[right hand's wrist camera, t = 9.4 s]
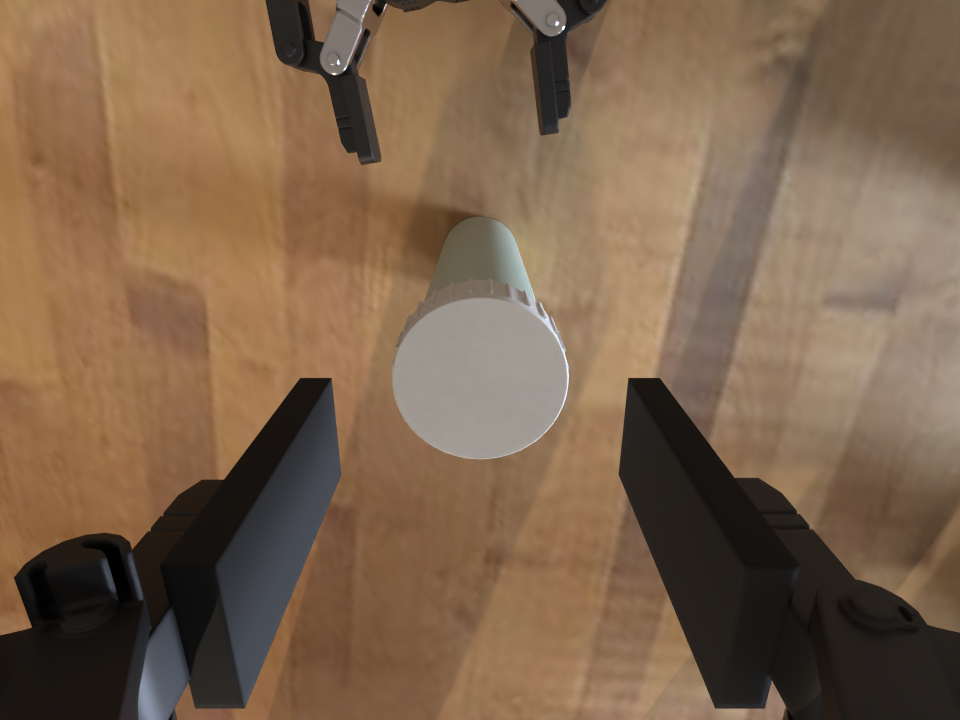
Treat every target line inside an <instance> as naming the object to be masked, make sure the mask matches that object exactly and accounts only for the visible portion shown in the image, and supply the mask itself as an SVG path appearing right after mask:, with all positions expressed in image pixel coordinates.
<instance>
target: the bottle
mask: <svg viewBox="0 0 960 720" xmlns="http://www.w3.org/2000/svg"><path fill="white" fill-rule="evenodd" d="M469 278H473V280H488V278H491V279H492V281H497V282H501V283H505V284H507V282H508V283H510V284H511V286H513V287H515V288H517V289H519V290H521V291H523V292H524V290H525V291H527V292H528V295H529V296H530V297H532V298H533V299H534V300H535V297H534V294H533V291H532V289H531V286H530V283H529V280H528V277H527V274H526V271H525V268H524V265H523V262H522V259H521V257H520V254H519V251H518V248H517V245H516V242H515V240H514V237H513V235H512V234H511V232H510V231H509V230H508V228H507V227H506V226H504V225H503V224H502V223H501V222H499V221H497V220H495V219H492V218H489V217H482V216H479V217H471V218H468V219H465V220H463V221H461V222H460V223H458V224H457V225H456V226H455V227H454V228H453V229H452V230H451V231H450V232H449V234H448V236H447V238H446V240H445V243H444V246H443V248H442V251H441V254H440V257H439V260H438V263H437V266H436V269H435V272H434V275H433V278H432V281H431V284H430V286H429V289H428V292H427V295H426V298H425V300H426V299H428V298H429V297H430V296H431V295H433V292H434V291H435V290H437V292H438V291H439V290H441V289H443V288H445V287H447V286H450V283H452V282H454V284H456V283H459V282H463V281H469ZM535 301H536V300H535Z"/></svg>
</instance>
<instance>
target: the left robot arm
mask: <svg viewBox="0 0 960 720" xmlns="http://www.w3.org/2000/svg"><path fill="white" fill-rule="evenodd" d="M436 1H444V2H452V3H458V2H463V1H468V0H375V3H374V4H373V2H374V0H337V4H336V14H335V17H334V20H333V22H332V25H331V27H330V30H329V32H328V35H327V38H326V40H325V43H323V42H318V41H315V36H314V30H313V24H312V19H311V13H310V7H309V2H308V0H266V5H267V10H268V15H269V20H270V25H271V30H272V35H273V40H274V46H275V51H276V54H277V57H278V58H279V60H280V61H281V62H283V63H284V64H286V65H289V66H291V67H294V68H296V69H299V70H302V71H305V72H312V73H317V74H320V75H322V76H323V77H324V79H325V80H326V82H327V84H328V87H329V91H330V95H331V100H332V104H333V108H334V113H335V117H336V121H337V126H338V129H339V135H340V139H341V143H342V144H343V146H344V148H345V149H346V151H347V152H348V153H355V152H357V154H358V158H359V161H360V163H361V165H364V164H370V163H376V162H381V154H380V149H379V144H378V139H377V134H376V129H375V124H374V120H373V115H372V110H371V105H370V100H369V95H368V91H367V86H366V81H365V79H364V78H362V77H360V76H359V73H358V71H359V69H360V66H361V64H362V61H363V59H364V56H365V54H366V52H367V49H368V47H369V44H370V42H371V40H372V38H373V36H375V34H376V33H377V31H378V29H379V27H380V24H381V22H382V19H383V17H384V15H385V12H386V10H387V7H388V5H391V6H393V7H395V8H399V9H403V11H404V12H408V11H414V10H419V9H422V8H424V7H426V6H428V5H430V4H432V3H434V2H436ZM498 1H499V2H500V3H501V4H502V5H503V7H504V8H505V9H507V10H508V11H509V12H511V13H512V14H513V15H514V16H515V17H516V18H517V20H518V21H519V22H520V23H521V24H522V25H523V26H524V27H525V29H526V30H527V31H528V32H529V33H530V34H531V35H532V36H533V38H534V45H533V47H532V49H531V51H530V53H531V62H532V70H533V79H534V88H535V97H536V106H537V115H538V124H539V131H540V135H548V134H554V133H558V132H559V123H558V119H560V118H565V117H568V115H569V111H570V107H571V96H570V86H569V75H568V64H567V53H566V39H567V36H568V34H569V32H570V31H572V30H574V29H575V28H577V27H578V26H580V25H582V24H583V23H587V22H589V21H590V20H592V19H593V17H594V16H595V15H596V13H597V12H599V11H600V10H601V9H602V8H603V6H604V5H605V3H606V1H607V0H558V1H556V0H498Z"/></svg>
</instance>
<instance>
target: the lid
mask: <svg viewBox="0 0 960 720" xmlns="http://www.w3.org/2000/svg"><path fill="white" fill-rule="evenodd" d="M395 350H396V351H397V352H396V355H395V358H394V361H393V363H392V386H393V392H394V397H395V401H396V403H397V406H398V408H399V411H400V412H401V414H402V416H403V418H404V420H405V421H406V422H407V424H408V425H409V426H410V428H411V429H412V430H413V431H414V432H415V433H416V434H417V435H418V436H419V437H420V438H422V439H423V440H424V441H425V442H427V443H428V444H430V445H432V446H433V447H435V448H437V449H439V450H441V451H443V452H445V453H448V454H451V455H454V456H458V457H463V458H470V459H490V458H498V457H502V456H506V455H509V454H512V453H515V452H517V451H520V450H522V449H523V448H525V447H527V446H529V445H530V444H532V443H533V442H535V441H536V440H538V439H539V438H540V437H541V436H542V435H543V434H544V433H545V432H546V431H547V430H548V429H549V428H550V427H551V425H552V424H553V423H554V421H555V420H556V418H557V417H558V415H559V413H560V411H561V409H562V407H563V404H564V401H565V398H566V394H567V389H568V369H569V366H568V363H567V360H566V358H565V354H564V351H566V349H565V346H564V344H563V342H562V339H561V337H560V334H559V332H558V331H557V328H556V326H555V323H554V321H553V318H552V317H551V316H549V317H548V315H547V313H546V312H545V311H544V309H543V306H542V304H541V303H540V302H538V303H537V302H536V301H535V300H534V299H533V298H532V297H530V296H529V295H528V292H527V291H525V290H524V292H523V291H521V290H519V289H517V288H515V287H513V286H511V284H510V283H508V282H507V284H505V283H501V282H497V281H492V279H491V278H488V280H473V278H469V281H463V282H459V283H456V284H454V282H452V283H450V286H447V287H445V288H443V289H441V290H439V291H438V292H437V290H435V291H434V292H433V295H431V296H430V297H429V298H428V299H426V300H425V301H424V302H422V301H421V302H420V303H419V305H418V308H417V310H416V311H415V313H414V314H413V315H412V316H411V315H409V317H408V319H407V322H406V324H405V327H404V329H403V331H402V332H401V335H400V337H399V340H398V342H397V345H396V347H395Z"/></svg>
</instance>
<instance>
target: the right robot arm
mask: <svg viewBox="0 0 960 720" xmlns="http://www.w3.org/2000/svg"><path fill="white" fill-rule="evenodd" d="M340 476H341V467H340V457H339V448H338V438H337V428H336V418H335V408H334V398H333V388H332V378H300V379H299V381H298V382H297V383H296V385H295V386H294V387H293V389H292V390H291V391H290V393H289V394H288V395H287V397H286V398H285V399H284V401H283V402H282V403H281V405H280V406H279V407H278V409H277V410H276V411H275V413H274V414H273V415H272V417H271V418H270V419H269V421H268V422H267V423H266V425H265V426H264V427H263V429H262V430H261V431H260V433H259V434H258V435H257V437H256V438H255V439H254V441H253V442H252V443H251V445H250V446H249V447H248V449H247V450H246V451H245V453H244V454H243V455H242V457H241V458H240V459H239V461H238V462H237V463H236V465H235V466H234V467H233V469H232V470H231V471H230V473H229V474H228V475H227V477H226V478H225V479H224V480H201V481H199V482H198V483H196V484H195V485H193V486H192V487H190V488H189V489H187V490H186V491H184V492H183V493H181V494H179V495H178V496H177V498H176V499H175V500H174V501H173V502H172V504H171V505H170V506H169V507H168V508H167V509H166V511H165V512H164V515H163V516H161V517H160V518H159V519H158V520H157V521H156V522H155V524H154V525H153V526H152V527H151V531H148V532H147V533H146V534H145V535H144V537H143V538H142V539H141V540H140V541H139V543H138V544H137V545H136V546H135V547H134V548H133V550H132V549H131V545H130V542H129V541H128V540H126V539H125V538H124V537H122V536H121V535H115V534H109V533H100V534H90V535H84V536H81V537H77V538H74V539H70V540H67V541H64V542H62V543H59V544H57V545H55V546H53V547H51V548H49V549H47V550H45V551H43V552H41V553H40V554H39V555H37V556H36V557H34V558H33V559H32V560H30V561H29V562H27V563H26V564H25V565H24V566H23V567H22V569H21V570H20V571H19V572H18V573H17V575H16V576H15V577H14V579H15V582H16V585H17V587H18V590H19V593H20V595H21V598H22V601H23V604H24V606H25V609H26V612H27V614H28V617H29V620H30V623H31V625H32V628H30V629H26V630H22V631H18V632H14V633H9V634H5V635H0V720H177V716H176V712H175V706H176V704H177V703H178V701H179V699H180V697H181V695H182V693H183V691H184V690H185V688H186V686H187V684H188V682H189V685H190V689H191V693H192V697H193V701H194V705H195V708H245V706H246V704H247V702H248V699H249V697H250V694H251V692H252V689H253V687H254V685H255V682H256V680H257V677H258V675H259V673H260V670H261V668H262V665H263V663H264V660H265V658H266V656H267V653H268V651H269V648H270V646H271V643H272V641H273V639H274V636H275V634H276V631H277V629H278V627H279V624H280V622H281V619H282V617H283V614H284V612H285V610H286V607H287V605H288V602H289V600H290V597H291V595H292V593H293V590H294V588H295V585H296V583H297V581H298V578H299V576H300V573H301V571H302V568H303V566H304V564H305V561H306V559H307V556H308V554H309V551H310V549H311V547H312V544H313V542H314V539H315V537H316V535H317V532H318V530H319V527H320V525H321V522H322V520H323V518H324V515H325V513H326V510H327V508H328V505H329V503H330V501H331V498H332V496H333V493H334V491H335V489H336V486H337V484H338V481H339V479H340ZM619 476H620V479H621V481H622V484H623V486H624V489H625V491H626V493H627V496H628V498H629V501H630V503H631V506H632V508H633V510H634V513H635V515H636V518H637V520H638V522H639V525H640V527H641V530H642V532H643V535H644V537H645V539H646V542H647V544H648V547H649V549H650V552H651V554H652V556H653V559H654V561H655V564H656V566H657V568H658V571H659V573H660V576H661V578H662V581H663V583H664V585H665V588H666V590H667V593H668V595H669V597H670V600H671V602H672V605H673V607H674V610H675V612H676V614H677V617H678V619H679V622H680V624H681V627H682V629H683V631H684V634H685V636H686V639H687V641H688V643H689V646H690V648H691V651H692V653H693V656H694V658H695V660H696V663H697V665H698V668H699V670H700V673H701V675H702V677H703V680H704V682H705V685H706V687H707V689H708V692H709V694H710V697H711V699H712V702H713V704H714V706H715V708H765V705H766V701H767V697H768V693H769V689H770V685H771V681H773V683H774V685H775V687H776V688H777V690H778V692H779V694H780V696H781V698H782V700H783V701H784V703H785V705H786V708H785V712H784V716H783V720H960V633H958V632H953V631H949V630H944V629H940V628H936V627H932V626H929V625H927V624H926V622H925V621H924V620H923V618H922V617H921V615H920V614H919V612H918V611H917V610H915V609H914V608H913V607H912V606H910V605H909V604H908V603H907V602H906V601H904V600H903V599H902V598H900V597H899V596H897V595H895V594H893V593H891V592H889V591H887V590H886V589H884V588H882V587H879V586H876V585H873V584H870V583H867V582H864V581H861V580H855V579H854V577H853V576H852V575H851V574H850V573H849V572H848V570H847V569H846V568H845V567H844V566H843V565H842V563H841V562H840V561H839V560H838V559H837V557H836V556H835V555H834V554H833V553H832V552H831V550H830V549H829V548H828V547H827V546H826V545H825V543H824V542H823V541H822V540H821V539H820V538H819V536H818V535H817V534H816V533H815V532H814V530H813V529H810V528H809V525H808V523H807V522H806V521H805V520H804V519H803V518H802V516H801V515H800V514H797V511H796V509H795V508H794V507H793V506H792V505H791V503H790V502H789V501H788V500H787V499H786V498H785V496H784V495H783V494H782V493H781V492H779V491H778V490H776V489H775V488H773V487H771V486H770V485H768V484H767V483H765V482H764V481H762V480H761V479H759V478H734V477H733V475H732V474H731V473H730V471H729V470H728V469H727V467H726V466H725V465H724V463H723V462H722V461H721V459H720V458H719V457H718V455H717V454H716V453H715V451H714V450H713V449H712V447H711V446H710V445H709V443H708V442H707V441H706V439H705V438H704V437H703V435H702V434H701V433H700V431H699V430H698V429H697V427H696V426H695V425H694V423H693V422H692V421H691V419H690V418H689V417H688V415H687V414H686V413H685V411H684V410H683V409H682V407H681V406H680V405H679V403H678V402H677V401H676V399H675V398H674V397H673V395H672V394H671V393H670V391H669V390H668V389H667V387H666V386H665V385H664V383H663V382H662V381H661V379H660V378H628V388H627V398H626V408H625V418H624V428H623V438H622V447H621V457H620V467H619Z"/></svg>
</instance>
